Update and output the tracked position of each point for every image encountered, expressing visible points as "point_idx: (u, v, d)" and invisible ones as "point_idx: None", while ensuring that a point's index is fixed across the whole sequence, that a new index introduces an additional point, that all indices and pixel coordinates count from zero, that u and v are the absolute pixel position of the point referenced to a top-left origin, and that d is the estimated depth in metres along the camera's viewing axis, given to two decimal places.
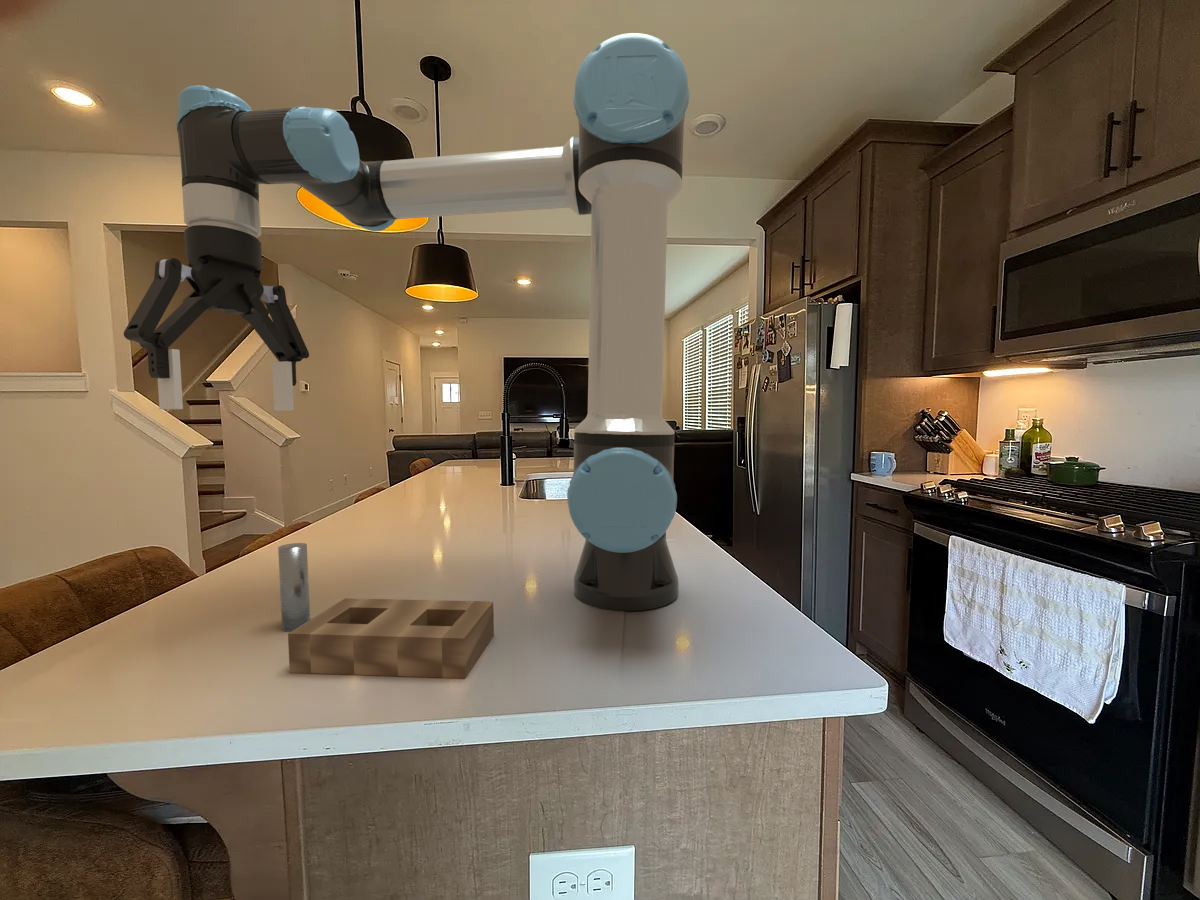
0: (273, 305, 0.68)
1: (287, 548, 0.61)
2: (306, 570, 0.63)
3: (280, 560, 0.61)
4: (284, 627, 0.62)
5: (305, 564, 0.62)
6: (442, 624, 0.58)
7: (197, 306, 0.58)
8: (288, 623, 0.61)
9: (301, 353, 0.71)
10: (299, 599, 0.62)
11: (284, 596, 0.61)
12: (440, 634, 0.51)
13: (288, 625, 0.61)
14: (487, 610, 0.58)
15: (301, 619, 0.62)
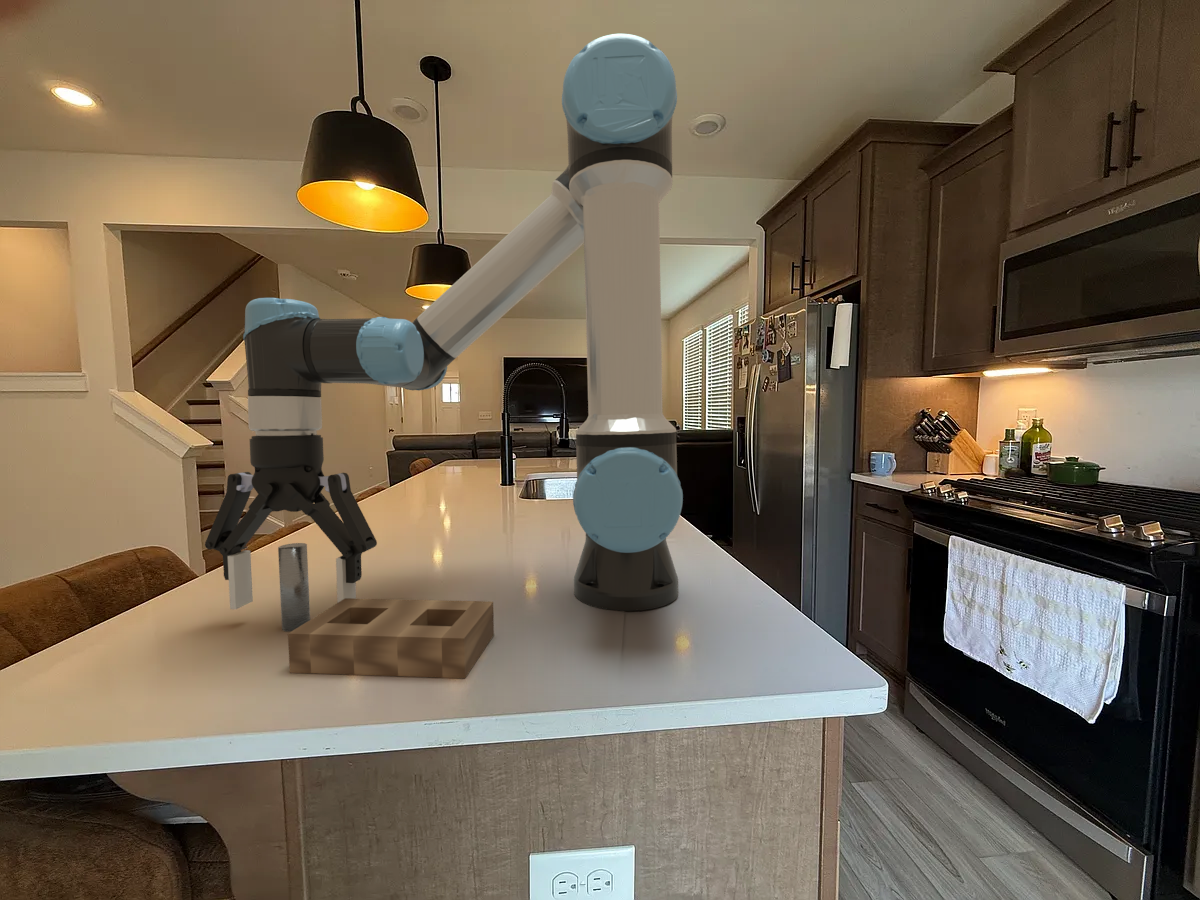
0: None
1: (287, 548, 0.61)
2: (306, 570, 0.63)
3: (280, 560, 0.61)
4: (284, 627, 0.62)
5: (305, 564, 0.62)
6: (442, 624, 0.58)
7: (249, 514, 0.61)
8: (288, 623, 0.61)
9: (357, 547, 0.61)
10: (299, 599, 0.62)
11: (284, 596, 0.61)
12: (440, 634, 0.51)
13: (288, 625, 0.61)
14: (487, 610, 0.58)
15: (301, 619, 0.62)
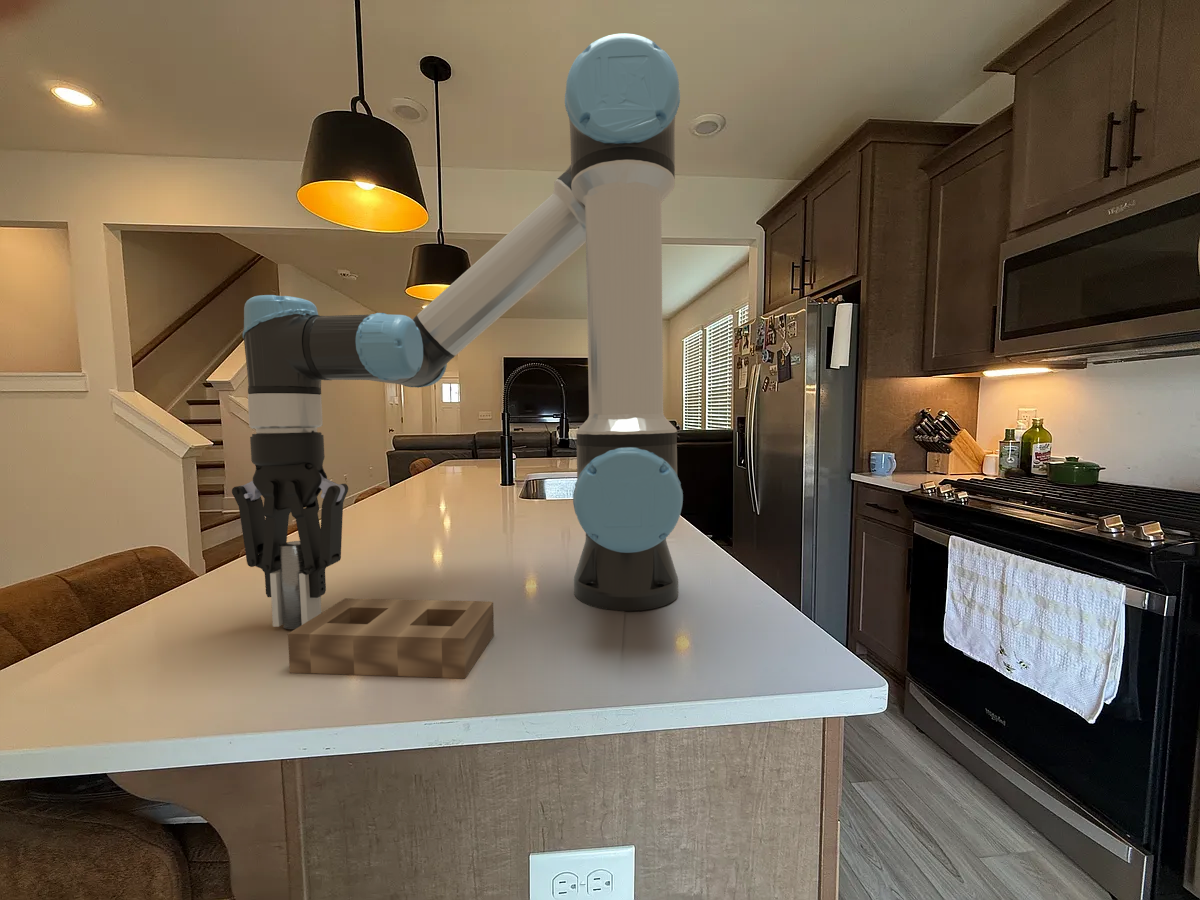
0: None
1: (288, 546, 0.61)
2: None
3: (281, 558, 0.61)
4: (286, 625, 0.62)
5: None
6: (442, 624, 0.58)
7: (268, 521, 0.61)
8: (290, 621, 0.61)
9: (320, 559, 0.61)
10: None
11: (286, 593, 0.61)
12: (440, 634, 0.51)
13: (290, 623, 0.61)
14: (487, 610, 0.58)
15: None
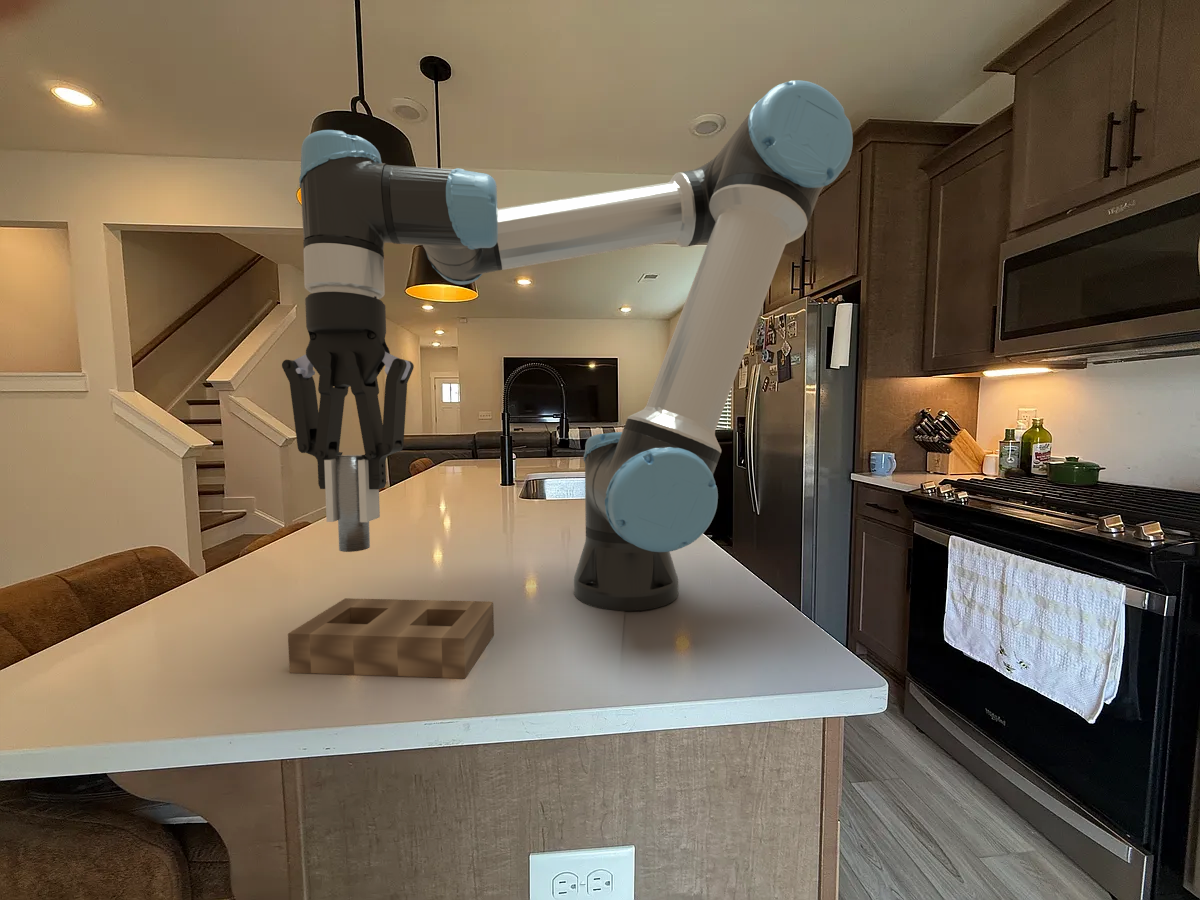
0: None
1: (347, 456, 0.54)
2: None
3: (339, 470, 0.54)
4: (342, 547, 0.54)
5: None
6: (442, 624, 0.58)
7: (323, 399, 0.53)
8: (348, 542, 0.54)
9: (382, 444, 0.53)
10: (359, 515, 0.54)
11: (343, 511, 0.54)
12: (440, 634, 0.51)
13: (347, 544, 0.54)
14: (487, 610, 0.58)
15: (362, 538, 0.54)
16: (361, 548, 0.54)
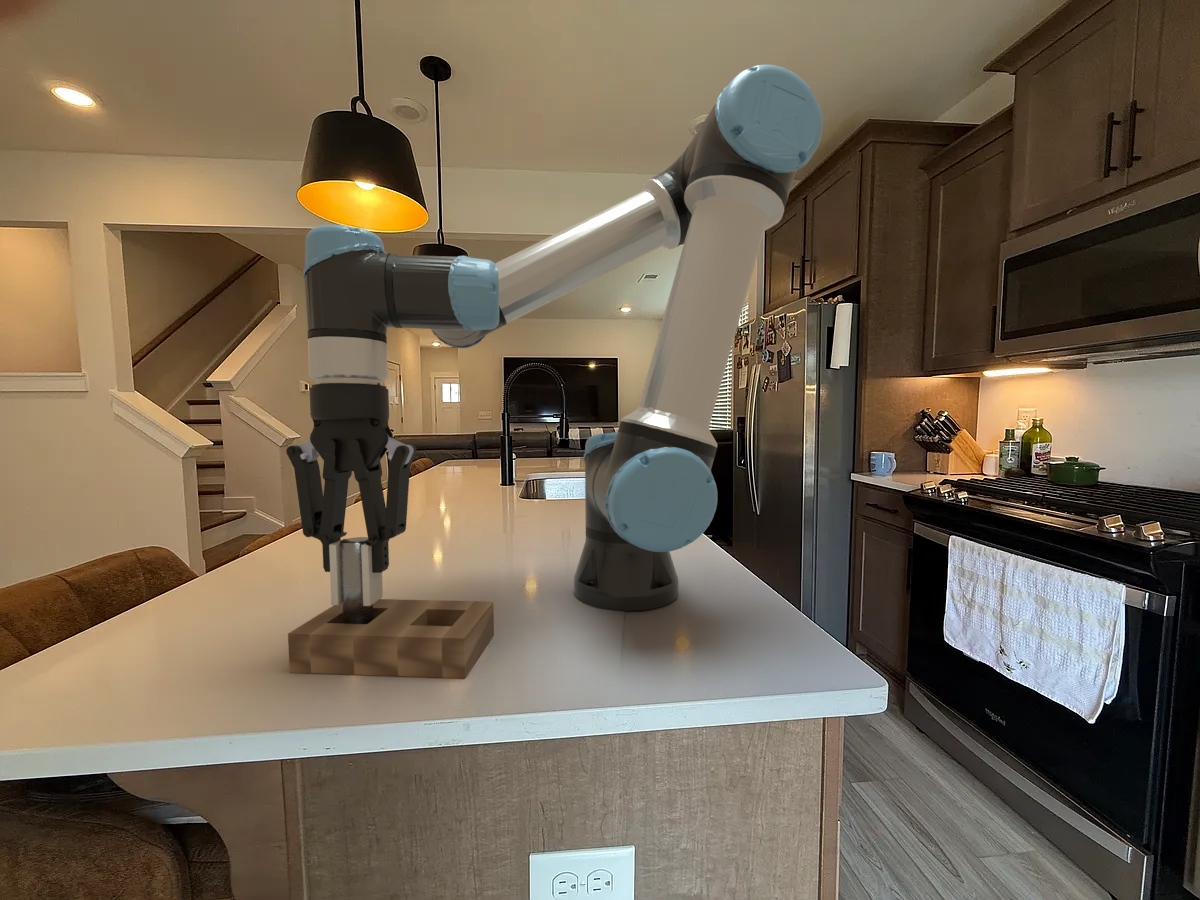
0: None
1: (351, 543, 0.54)
2: None
3: (343, 556, 0.54)
4: None
5: None
6: (442, 624, 0.58)
7: (328, 485, 0.54)
8: None
9: (385, 529, 0.54)
10: None
11: (347, 596, 0.54)
12: (440, 634, 0.51)
13: None
14: (487, 610, 0.58)
15: (366, 622, 0.55)
16: None
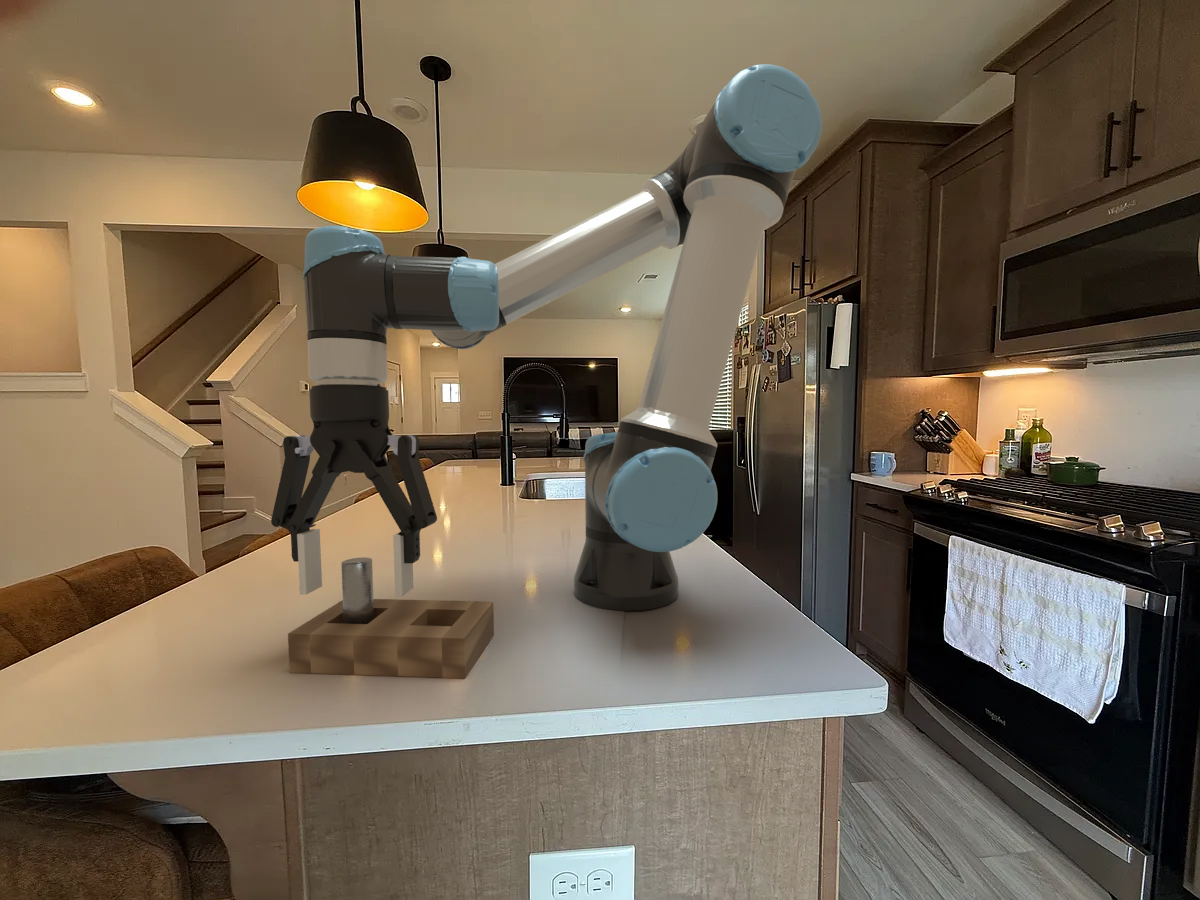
0: None
1: (352, 564, 0.54)
2: (372, 588, 0.56)
3: (344, 577, 0.54)
4: None
5: (371, 581, 0.56)
6: (442, 624, 0.58)
7: (314, 480, 0.54)
8: None
9: (417, 521, 0.53)
10: (365, 621, 0.55)
11: (349, 618, 0.54)
12: (440, 634, 0.51)
13: None
14: (487, 610, 0.58)
15: None
16: None
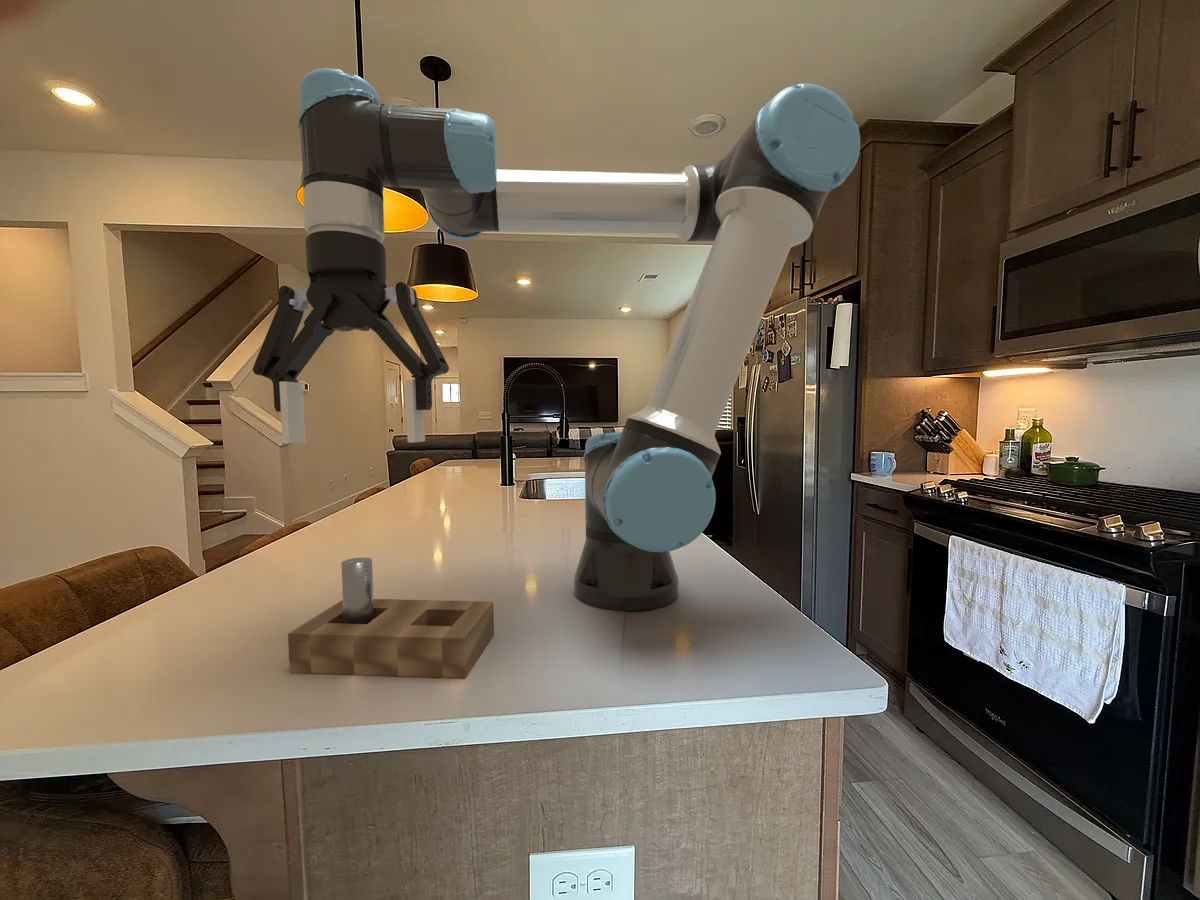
0: None
1: (352, 564, 0.54)
2: (372, 588, 0.56)
3: (344, 577, 0.54)
4: None
5: (371, 582, 0.56)
6: (442, 624, 0.58)
7: (304, 331, 0.53)
8: None
9: (429, 366, 0.53)
10: (365, 621, 0.55)
11: (349, 618, 0.54)
12: (440, 634, 0.51)
13: None
14: (487, 610, 0.58)
15: None
16: None
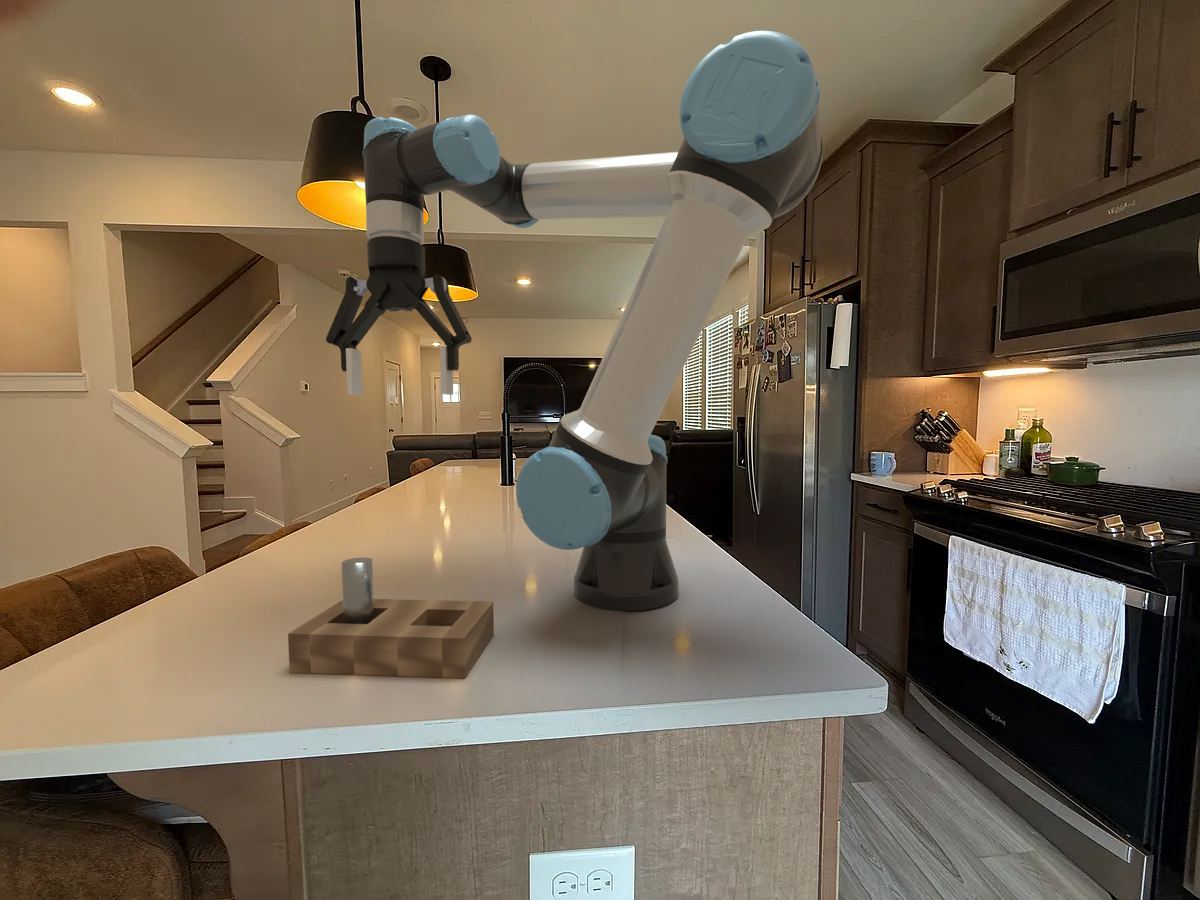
0: None
1: (352, 564, 0.54)
2: (372, 588, 0.56)
3: (344, 577, 0.54)
4: None
5: (371, 581, 0.56)
6: (442, 624, 0.58)
7: (365, 311, 0.72)
8: None
9: (457, 336, 0.71)
10: (365, 621, 0.55)
11: (349, 618, 0.54)
12: (440, 634, 0.51)
13: None
14: (487, 610, 0.58)
15: None
16: None
